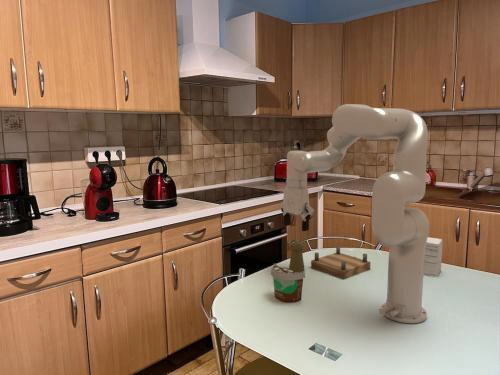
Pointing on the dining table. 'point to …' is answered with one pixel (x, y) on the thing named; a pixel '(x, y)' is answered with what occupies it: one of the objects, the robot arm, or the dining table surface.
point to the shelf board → (340, 264)
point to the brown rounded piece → (296, 257)
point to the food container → (287, 284)
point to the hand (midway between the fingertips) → (296, 227)
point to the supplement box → (433, 257)
